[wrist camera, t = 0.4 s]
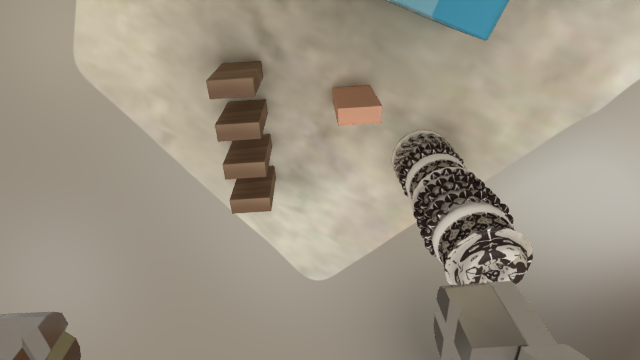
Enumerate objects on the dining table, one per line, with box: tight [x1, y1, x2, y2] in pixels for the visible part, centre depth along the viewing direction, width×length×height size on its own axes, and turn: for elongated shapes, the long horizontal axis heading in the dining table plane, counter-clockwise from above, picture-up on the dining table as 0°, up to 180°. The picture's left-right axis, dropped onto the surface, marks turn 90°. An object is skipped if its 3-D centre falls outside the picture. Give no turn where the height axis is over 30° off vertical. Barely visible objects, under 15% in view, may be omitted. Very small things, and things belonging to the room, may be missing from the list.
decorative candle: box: [392, 130, 533, 285], centre depth 45 cm, size 9×9×25 cm
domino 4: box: [230, 166, 276, 213], centre depth 52 cm, size 2×5×9 cm, turn 93°
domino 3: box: [223, 134, 272, 179], centre depth 50 cm, size 2×5×9 cm, turn 93°
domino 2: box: [215, 99, 268, 141], centre depth 48 cm, size 2×5×9 cm, turn 93°
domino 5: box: [333, 85, 382, 126], centre depth 47 cm, size 2×5×9 cm, turn 93°
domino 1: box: [206, 61, 263, 99], centre depth 45 cm, size 2×5×9 cm, turn 93°
